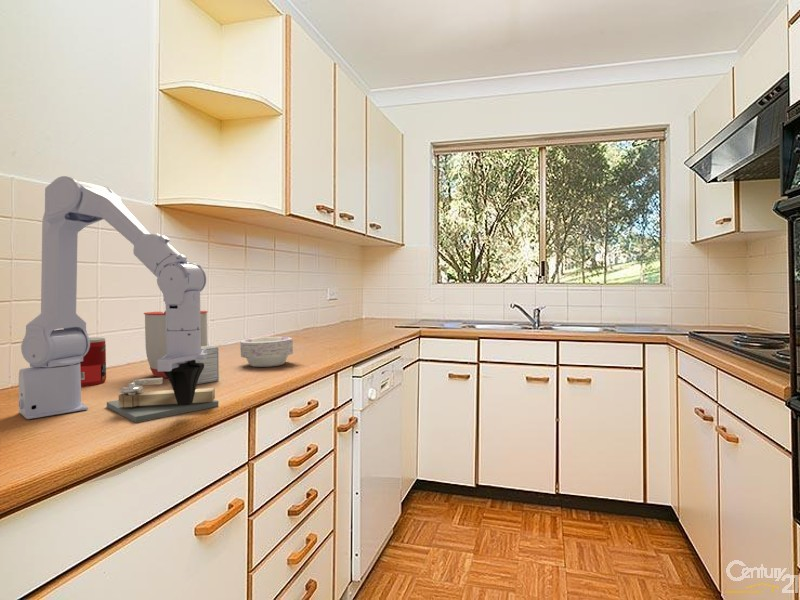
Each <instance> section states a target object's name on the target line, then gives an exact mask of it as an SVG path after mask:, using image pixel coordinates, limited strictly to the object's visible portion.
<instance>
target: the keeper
mask: <svg viewBox="0 0 800 600" xmlns="http://www.w3.org/2000/svg"><path fill="white" fill-rule="evenodd" d="M132 383H135V386H142V391H141V392H144V386H152V385H153V386H154V385H155V386H156V385H163V383H164V378H162V377H152V378H150V377H149V378H136V379H135V378H134V379H133V380H132Z"/></svg>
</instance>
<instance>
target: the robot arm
mask: <svg viewBox="0 0 800 600" xmlns="http://www.w3.org/2000/svg"><path fill="white" fill-rule="evenodd" d="M103 220H104V221H106V222H107V224H108V225H110V227H113V228H114V229H115V230H116V231H117V232H118V233H119V234H120V235H122V236H123V237H124V238H125V239H126V240H127V241H129V242H130V243H131V244H132V245H133V255H134V256H135V257H136V258H137V259H138V260H139V261H140V262H141V263H142V264H143V265H144V267H146V268H147V269H148V270H149V272H151V273H152V274H153V275H154V276H155V278H156V284H157V286H158V288H159V290H160V291H161V293H162V295H163V296H162V297H163V302H164V304H165V311H166V353H167V354H166V355H165V356H164V357H163V358H162V359H159V360H157V370H158V372H161V371H164V373H165V375H166V376H167V378H166V379H168V380H169V383H170V385H171V388H172V390H174V394H175V397H176V401H177V404H178V405H190V404H192V402H193V398H194V394H195V389H197V388H196V387H197V385H198V384H197V382H198V379H199V376H200V374H201V372H202V370H203V369H204V363H196V361H197V360H200V359H206V358H207V349H201V319H200V311H201V292H202V291H203V290H204V289H205V287H206V284H207V276H206V272H205V271H204V269H203V268H202V266H201V265H200V264H198V263H193V262H188V260H187V258H188V257H186V255H184V254H182V253H180V252H179V251H177V249H175V248H174V247H173V245H171V244H170V243H169V242H170V241H171V240H170V238H168V237H167V235H162V234H159V233H154V232H153V233H150V232H149V231H148V230H147V229H146V228H145V227H144V226H143V224H142V223H141V222H140V221H139V220H138V219H137V218H136V217H135V216H134V214H132V212H131V211H130V210H129V209H128V208H127V206H126V205H124V203H123V202H122V198H121V197H120V195H117V193H115V192H114V191H113V190H112V189H111V188H109V187H108V186H104V185H99V184H94V183H89V182H86V181H82V180H79V179H74V178H73V177H70V176H68V175H67V176H65V175H63V176H59V177H57V178H55V179H54V180H52V182H50V183H49V184H48V185H47V186H45V188H44V213H43V216H42V221H41V222H42V224H41V225H42V226H41V230H42V231H41V238H42V239H41V276H40V277H41V280H40V281H41V283H40V285H41V286H40V292H41V293H40V313H39V314H38V315H37V316H36V317H35V318H33V319H31V321H29V322H28V323H27V324H26V325H25V334H24V337H23V338H22V341H21V346H20V349H21V354H22V357H23V359H24V360H25V361H26V362H27V363H28V364H29V367H24V368H20V370H19V372H18V408H19V409H18V412H19V414H20V415H22V416H23V417H24V418H25V419H26V420H33V419H37V418H43V417H44V418H45V417H50V416H56V415H62V414H67V413H74V412H80V411H86V410H88V409H89V406H88V405H86V404H84V403H83V402H82V386H81V371H80V362H81V361H83V357H84V356H85V355H86V354H87V353H88V351H89V348H90V339H89V338H90V337H89V335H88V331H87V322H86V321H85V320H84V319H83V318H82V317H81V316H79V315H78V313H77V291H78V290H77V286H78V285H77V281H78V237H79V236H78V234H79V233H80V232H81V231H83V230H84V229H85V228H86V227H88V226H91V225H93V224H95V223H98V222H101V221H103Z"/></svg>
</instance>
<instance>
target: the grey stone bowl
mask: <svg viewBox="0 0 800 600" xmlns="http://www.w3.org/2000/svg"><path fill="white" fill-rule="evenodd" d="M293 341H294V340H293V338H292V337H288V336H268V337H267V336H264V337H263V336H262V337H254V338H247V339H242V340H240V342H239V343H240V344H239V345H240V347H239V348H240V357H241V358H244V359H246V361H247V363H248V365H249V366H251V367H254V368H272V367H278V366H282V365H284V364H285V363H286V361H287V358H288V356H289V355H293V353H294V351H293V350H294V346H293Z"/></svg>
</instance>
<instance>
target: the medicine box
mask: <svg viewBox="0 0 800 600" xmlns="http://www.w3.org/2000/svg"><path fill="white" fill-rule="evenodd" d="M201 349H207V358H206V359H200V360H197V361H196V363H204V369H203V370H202V372H201V374H200V376H199V379H198V382H197V385H200V384H202V385H203V384H206V383H212V382H218V381H219V380H220V375H219V374H220V371H219V368H220V365H219V362H220V361H219V357H220V356H219V347H217V346H214V345H207V346H201Z"/></svg>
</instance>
